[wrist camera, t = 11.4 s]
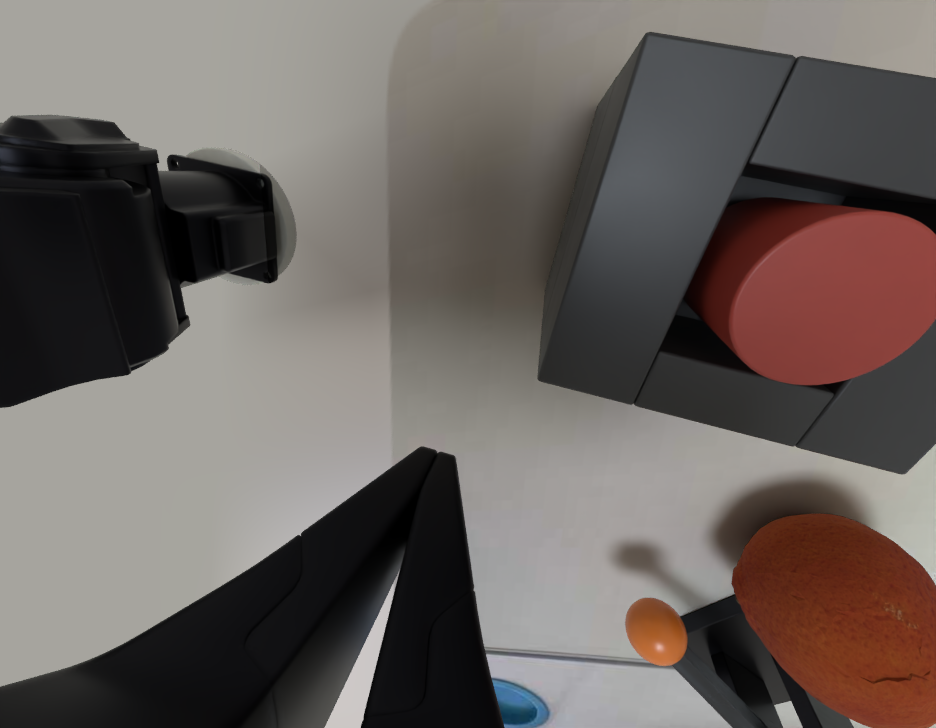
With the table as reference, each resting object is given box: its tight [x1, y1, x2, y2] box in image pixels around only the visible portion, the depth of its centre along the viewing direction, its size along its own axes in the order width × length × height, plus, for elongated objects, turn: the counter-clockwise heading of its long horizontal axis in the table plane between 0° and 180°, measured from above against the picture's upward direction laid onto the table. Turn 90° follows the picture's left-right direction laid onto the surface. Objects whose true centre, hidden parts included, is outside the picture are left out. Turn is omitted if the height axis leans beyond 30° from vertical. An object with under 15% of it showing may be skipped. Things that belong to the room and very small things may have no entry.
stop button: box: [683, 197, 936, 385], centre depth 9 cm, size 4×4×4 cm
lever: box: [625, 598, 769, 728], centre depth 21 cm, size 15×3×3 cm, turn 53°
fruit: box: [732, 514, 936, 728], centre depth 19 cm, size 9×9×8 cm
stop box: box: [538, 32, 936, 474], centre depth 13 cm, size 10×8×10 cm
